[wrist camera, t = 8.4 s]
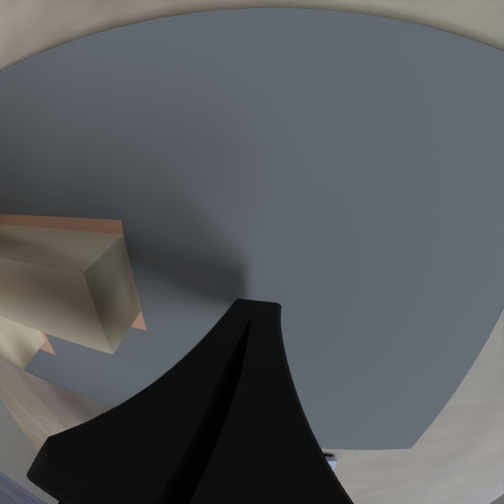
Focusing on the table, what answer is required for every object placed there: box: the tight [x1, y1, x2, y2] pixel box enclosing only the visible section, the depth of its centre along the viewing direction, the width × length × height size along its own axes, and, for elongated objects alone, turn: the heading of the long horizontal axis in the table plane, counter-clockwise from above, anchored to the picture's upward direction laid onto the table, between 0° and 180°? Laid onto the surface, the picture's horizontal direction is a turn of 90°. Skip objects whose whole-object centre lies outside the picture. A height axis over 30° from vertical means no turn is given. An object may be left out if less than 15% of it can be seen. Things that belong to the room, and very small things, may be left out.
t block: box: [0, 224, 141, 369], centre depth 11 cm, size 12×12×2 cm
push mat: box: [0, 8, 504, 450], centre depth 13 cm, size 20×29×1 cm
